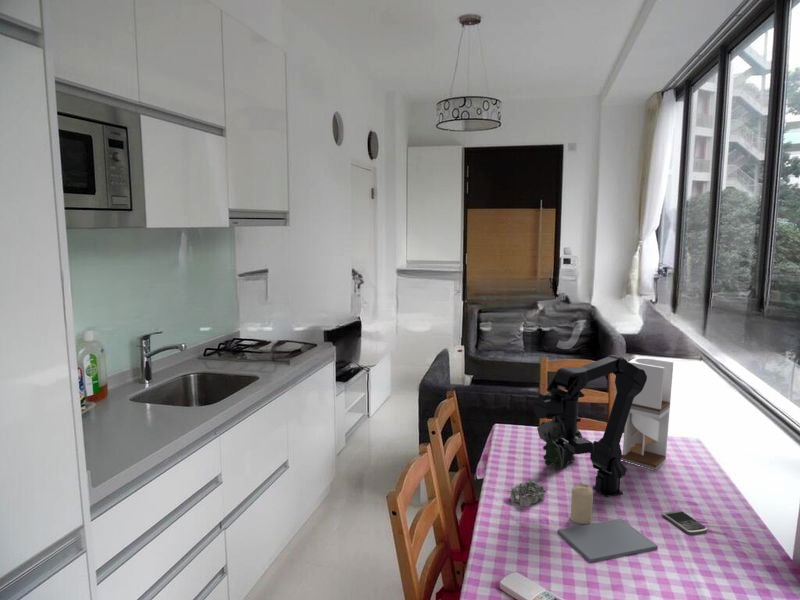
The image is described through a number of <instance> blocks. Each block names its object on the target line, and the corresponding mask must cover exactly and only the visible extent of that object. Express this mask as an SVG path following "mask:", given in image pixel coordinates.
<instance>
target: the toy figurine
mask: <svg viewBox="0 0 800 600" xmlns="http://www.w3.org/2000/svg"><path fill="white" fill-rule="evenodd" d="M577 431H579V432H580V435H579V436H576V437H577V438H584V437H583V434H582V432H581V431H580V430H579V429H578V428H577ZM542 449H543V450H544V451H545V454H544V455H543V459H544V464H545V465H546V466H550V465H551V464H552V465H555V467H556V468H557V469H561V468H563V467H564V468H567V467H569V463H571V462H574V460H575V459H574V458H575V455H576V454H573V456H572V457H571V459H570V461H569V462H568V464H567V465H565V466H564V465H562V462H561V458H560V455H559V451H558V448H557V445H556V444H555V443H554V442H553V441H552V442H549V443H546V442H545V445H544V446H543V447H542Z"/></svg>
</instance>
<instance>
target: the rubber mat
mask: <svg viewBox="0 0 800 600" xmlns="http://www.w3.org/2000/svg"><path fill="white" fill-rule="evenodd" d="M557 533H558V534H559V535H560V537H562V538H563V539H564V540H565V541H566V542H567V543H568V544H570V546H572V547H573V548H574V550H576V551H577V552H578V553H579V554H580V555H581V556H583V558H585V559H586V560H587V561H588V562H589V563H595V562H599V561H604V560H609V559H613V558H618V557H624V556H628V555H633V554H637V553H643V552H648V551H653V550H658V547H659V546H658V544H656V543H654V541H653V540H651V539H649V538H648V537H646V536H645V535H644V534H643V533H641V532H640V531H638V529H636V528H635V527H633V526H632V525H631V524H629V522H627V521H625V520H624V519H623V518H622V517H620V518H616V519H609V520H605V521H599V522H593V523H589V524H580V525H577V526H572V527H565V528H561V529H557Z"/></svg>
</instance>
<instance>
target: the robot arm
mask: <svg viewBox="0 0 800 600" xmlns="http://www.w3.org/2000/svg"><path fill="white" fill-rule="evenodd" d="M611 374H613V375H614V376H615V378H614V385H615V389H616V395H615V396H614V399H613V400H614V401H613V404H612V408H611V410H610V413H609V417H608V419H607V423H606V426H605V429H604V432H603V436H602V437H601V438H600V439H599V440H598V441H597V440H594V441H593V442H592V441H590V440H589V439H588V438H585V437H583V438H577V437H576V436H579V435H580V432H581V431H580V430H579V431H580V432H579V431H577V429H578V423H580V422H581V419H582V418H581V417H579V416H578V415H579V398H580V399H581V398H583V397H585V394H584V392H582V390H584V389H585V388H586V387H587V386H588V384H589V383H590V382H593V381H595V380H598V379H600V378H602V377H605V376H607V375H611ZM646 380H647V375H646V373H645V371H644V370H642V369H639V368H637V367H636V366H634V365H632V364H631V363H629V361H628V360H627V359H625V358H624V357H622V356H618V355H614V354H610V355H609V354H608V355H607V357H604V358H602V359H601V358H600V359H598V360H596V361H593V362H590V363H587V364H585V365H581V366H567V367H566V366H565V367H561V368H559V369H557V371H556V373H555V375H554V377H553V378H552V380H551V382H550V383H549V385H548V387H547V388H546V392H544V393H543V392H541V393H539V394H538V397H537V398H536V399H535V400H534V402H533V404H532V407H533V409H532V410H533V412H534V414H535V416H536V417H537V418H538V419H542V420H543V419H548V418H551V417H552V418H551V420H550V421H548V420H547V421H542V422H541V423H540V425H538V426H537V428H536V429H537V432H538V435H539V436H538V437H539V439H541V440H543V442H545V444H546V443H549V442H552V441H553V442H554V443H555V444H556V445H557V448H558V451H559V455H560V458H561V462H562V465H564V466H565V465H567V464H568V465H569V463H570V462H569V461H570V459H571V457H572V456H574V455H573V454H575V455H582V454H583V455H584V454H590V456H589V459H590V461H591V464H592V468H593V469H596V470H597V471H596V475H595V484H594V485H592V488H593V489H594V490H596V491H597V492H598V493H600V494H601V495H603V496H604V497H612V496H617V495H623V494H624V491H622V490H621V479H623V478H624V477H625V476H626V475H627V471H628V468H627V467H626V466H625V465H624V463H623V462H622V461H621V457H622V455H623V451H622V448H621V444H620V443H621V440H622V436H623V435H624V428H625V424H626V421H627V418H628V415H629V412H630V409H631V405H632V402H633V399H634V397H635V396H637V395H638V394H639V393H640V392H641V391H642V390H643V387H644V385H645V383H646ZM564 466H563V467H564Z"/></svg>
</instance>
